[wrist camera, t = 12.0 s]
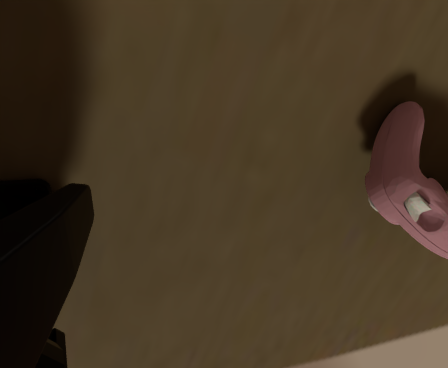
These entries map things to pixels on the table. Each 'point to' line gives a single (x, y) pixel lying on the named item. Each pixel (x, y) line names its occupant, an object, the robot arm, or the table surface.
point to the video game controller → (407, 180)
